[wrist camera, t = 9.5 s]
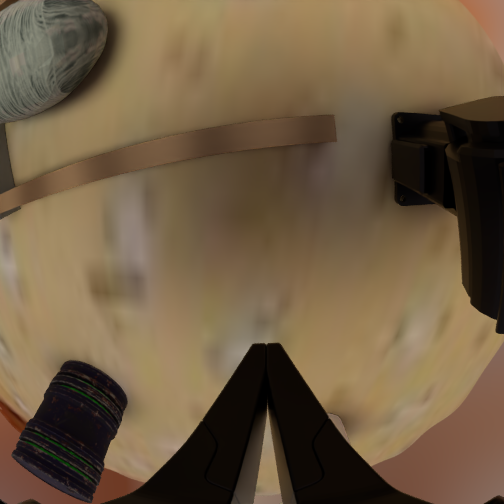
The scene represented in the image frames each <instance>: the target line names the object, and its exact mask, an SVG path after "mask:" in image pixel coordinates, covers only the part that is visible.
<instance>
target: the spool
mask: <svg viewBox="0 0 504 504" xmlns="http://www.w3.org/2000/svg"><path fill="white" fill-rule="evenodd" d="M107 33H108V24H107V19H106V17H105V14H104V13H103V11H102V10H101V8H100V7H99V6H98V5H97V4H96V3H94V2H93V1H91V0H19V1H17V2H15V3H13V4H12V5H10V6H8V7H7V8H5V9H3V10H2V11H1V12H0V124H1V123H8V122H13V121H17V120H21V119H25V118H28V117H30V116H33V115H36V114H39V113H40V112H42V111H44V110H46V109H48V108H50V107H52V106H53V105H55V104H57V103H58V102H60V101H61V100H63V99H64V98H65V97H66V96H67V95H68V94H70V93H71V92H72V91H73V90H74V89H75V88H76V87H77V86H78V85H79V84H80V83H81V82H82V80H83V79H84V78H85V77H86V76H87V74H88V73H89V72H90V70H91V69H92V67H93V66H94V64H95V63H96V61H97V60H98V58H99V57H100V55H101V53H102V51H103V50H104V47H105V44H106V39H107Z"/></svg>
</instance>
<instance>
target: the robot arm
mask: <svg viewBox="0 0 504 504" xmlns="http://www.w3.org/2000/svg"><path fill="white" fill-rule="evenodd" d="M439 112H440V115H431V114H419V113H404V112H397V113H394V114H393V116H392V128H393V141H392V142H391V153H392V178H393V179H394V180H395V201H396V203H398V204H399V205H401V206H410V205H425V204H437V205H439V206H441V207H442V208H444V209H446V210H447V211H449V212H451V213H452V214H454V215H456V216H457V219H458V228H459V238H460V250H461V270H462V284H463V286H464V288H465V290H466V292H467V294H468V296H469V297H470V298H471V299H470V303H471V305H472V306H474V307H475V308H476V309H477V310H478V311H479V312H481V313H483V314H485V315H487V316H489V317H491V318H493V319H495V320H497V324H496V333H498V334H504V96H494V97H489V98H484V99H480V100H476V101H472V102H468V103H464V104H460V105H456V106H452V107H448V108H445V109H441V110H439ZM399 116H400V117H401V122H400V123H399V122H398V120H397V119H398V117H399ZM401 196H404V199H403V200H402V201H400V197H401ZM267 405H268V412H269V420H270V426H271V433H272V439H273V445H274V452H275V458H276V465H277V471H278V477H279V483H280V490H281V496H282V502H283V504H432V503H430V502H426V501H424V500H421V499H418V498H415V497H413V496H410V495H408V494H405V493H403V492H401V491H399V490H397V489H395V488H394V487H392V486H391V485H389V484H388V483H387V482H386V481H385V480H384V479H383V478H382V477H380V475H378V473H377V472H376V471H375V470H374V469H373V468H372V467H371V466H370V465H369V464H368V463H367V462H366V461H365V460H364V459H363V458H362V457H361V456H360V455H359V454H358V453H357V452H356V451H355V450H354V448H353V447H352V446H351V445H350V444H349V443H348V442H347V441H346V439H345V438H344V437H343V435H342V434H341V433H340V431H339V430H338V429H337V427H336V426H335V424H334V423H333V422H332V420H331V419H330V418H329V416H328V414H327V413H326V412H325V410H324V409H323V407H322V406H321V404H320V403H319V401H318V400H317V398H316V397H315V395H314V394H313V392H312V391H311V389H310V388H309V386H308V385H307V383H306V382H305V380H304V379H303V377H302V376H301V374H300V373H299V371H298V370H297V368H296V367H295V365H294V364H293V362H292V361H291V359H290V358H289V356H288V354H287V353H286V351H285V350H284V348H283V347H282V345H281V344H280V343H268V344H267V345H266V344H265V343H255V344H252V346H251V347H250V349H249V350H248V352H247V353H246V355H245V356H244V358H243V360H242V361H241V363H240V364H239V366H238V367H237V369H236V370H235V372H234V373H233V375H232V376H231V378H230V379H229V381H228V382H227V384H226V385H225V387H224V388H223V390H222V391H221V393H220V394H219V396H218V397H217V399H216V400H215V402H214V403H213V405H212V406H211V408H210V409H209V411H208V412H207V413H206V415H205V416H204V418H203V419H202V420H203V421H201V422H200V423H199V425H198V426H197V428H196V429H195V430H194V432H193V433H192V434H191V436H190V437H189V438H188V440H187V441H186V442H185V443H184V444H183V446H182V447H181V448H180V449H179V450H178V451H177V452H176V453H175V454H174V455H173V456H172V457H171V458H170V459H169V460H168V461H167V462H166V464H164V465H163V466H162V467H161V468H160V469H159V470H158V471H157V472H156V473H155V474H154V475H153V476H152V477H151V478H150V479H149V480H148V481H147V482H146V483H145V484H144V485H143V486H141V487H140V488H138V489H137V490H135V491H134V492H132V493H130V494H127V495H125V496H122V497H119V498H117V499H114V500H111V501H108V502H105V503H102V504H253V502H254V496H255V490H256V484H257V478H258V472H259V465H260V459H261V452H262V445H263V438H264V432H265V424H266V417H267ZM0 504H7V503H5V502H4V501H2V500H1V499H0ZM18 504H40V503H38V502H37V501H35V500H33V499H29V500H26V501H23V502H21V503H18ZM484 504H504V497H502V496H500V495H499V496H496V497H494V498H492V499H491V500H489V501H488V502H486V503H484Z"/></svg>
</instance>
